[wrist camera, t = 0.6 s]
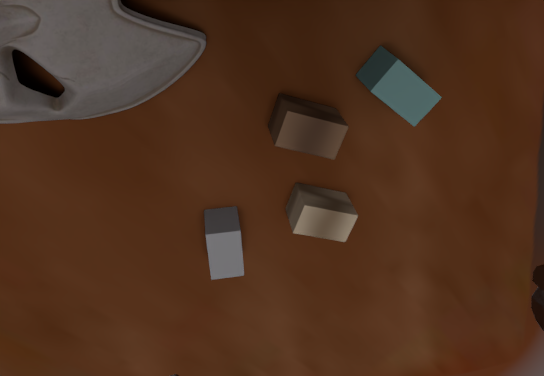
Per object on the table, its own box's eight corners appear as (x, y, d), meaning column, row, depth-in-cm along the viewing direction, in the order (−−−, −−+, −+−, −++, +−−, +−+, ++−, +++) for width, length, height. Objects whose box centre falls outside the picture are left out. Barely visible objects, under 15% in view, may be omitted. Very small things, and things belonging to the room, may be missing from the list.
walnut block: (267, 125, 46) (274, 145, 43) (278, 92, 45) (287, 111, 41) (322, 138, 48) (334, 159, 44) (335, 107, 47) (348, 126, 43)
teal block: (355, 74, 45) (370, 91, 41) (380, 45, 44) (398, 59, 40) (396, 108, 48) (414, 126, 44) (421, 81, 46) (441, 97, 43)
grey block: (204, 209, 50) (205, 234, 47) (236, 205, 51) (240, 230, 47) (209, 252, 54) (211, 279, 50) (240, 248, 54) (244, 275, 50)
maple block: (285, 208, 52) (293, 232, 48) (295, 182, 50) (304, 205, 47) (333, 217, 54) (345, 242, 50) (345, 192, 52) (358, 215, 48)
